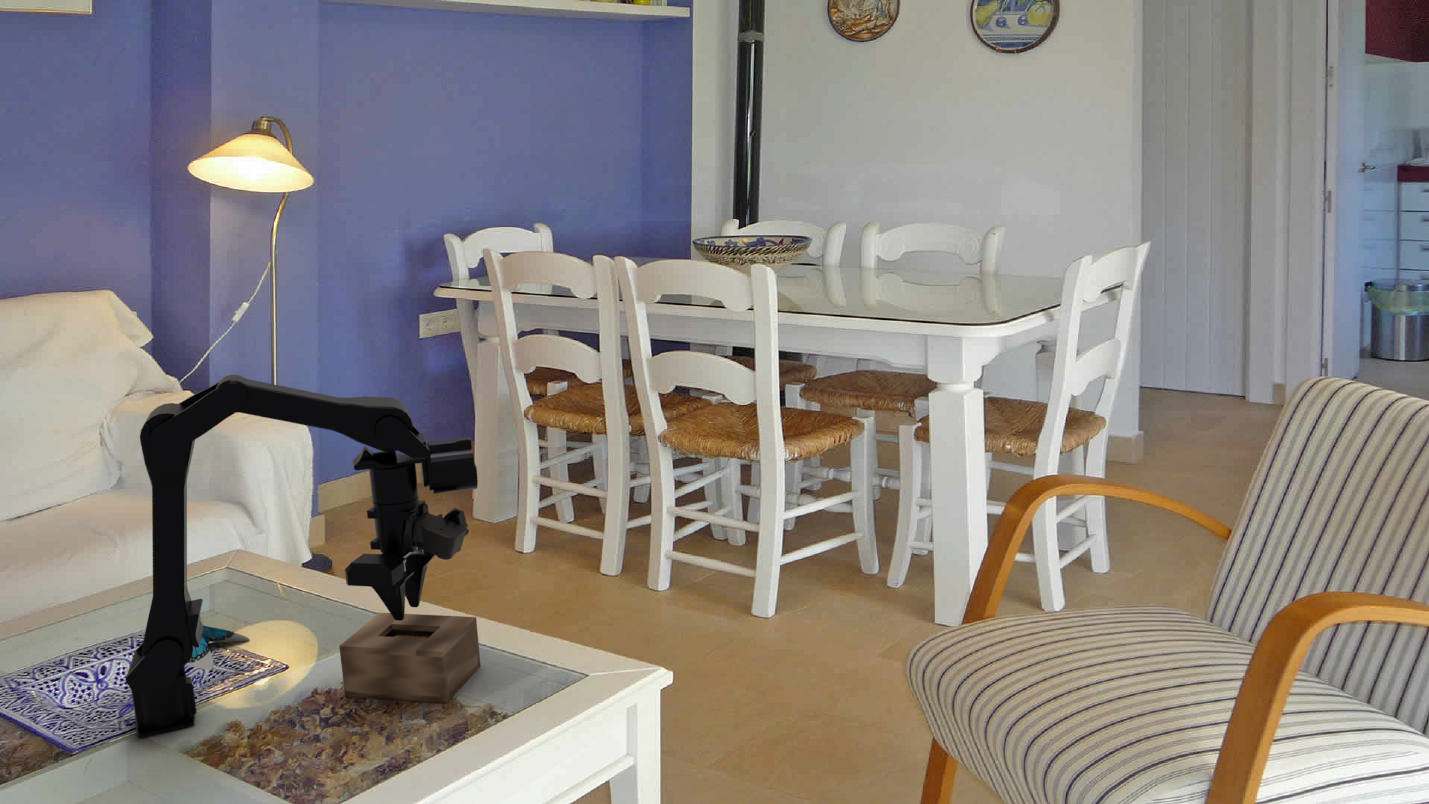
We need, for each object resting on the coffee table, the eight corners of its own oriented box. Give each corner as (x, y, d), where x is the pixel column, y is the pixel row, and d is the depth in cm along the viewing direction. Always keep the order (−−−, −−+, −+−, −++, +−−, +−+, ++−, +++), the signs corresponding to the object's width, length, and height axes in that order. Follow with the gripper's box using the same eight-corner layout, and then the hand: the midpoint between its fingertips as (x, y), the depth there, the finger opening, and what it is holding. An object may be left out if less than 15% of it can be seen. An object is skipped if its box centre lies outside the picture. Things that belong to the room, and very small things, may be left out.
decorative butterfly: (177, 614, 181) (236, 599, 179) (193, 654, 182) (252, 641, 180) (134, 643, 172) (195, 628, 169) (151, 685, 173) (212, 671, 170)
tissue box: (345, 696, 161) (339, 646, 159) (384, 660, 171) (379, 612, 170) (446, 703, 158) (441, 651, 156) (480, 665, 168) (476, 617, 167)
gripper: (422, 523, 148) (434, 646, 152) (483, 478, 166) (492, 589, 169) (336, 520, 151) (350, 641, 154) (405, 476, 168) (416, 586, 172)
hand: (407, 613), depth 162 cm, fingers open, 4 cm apart
